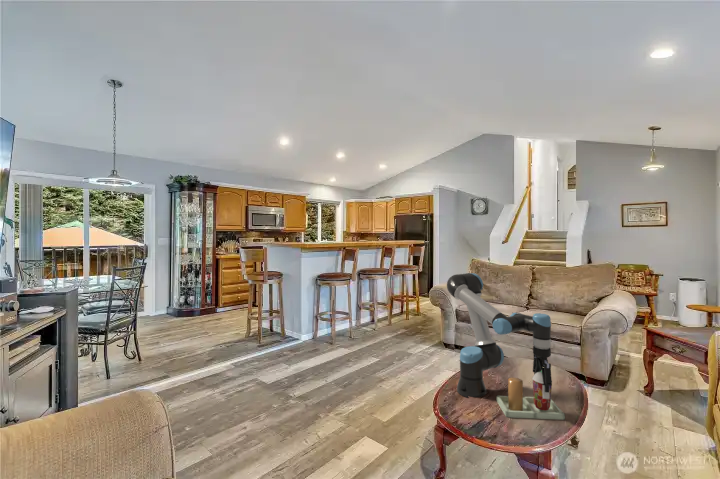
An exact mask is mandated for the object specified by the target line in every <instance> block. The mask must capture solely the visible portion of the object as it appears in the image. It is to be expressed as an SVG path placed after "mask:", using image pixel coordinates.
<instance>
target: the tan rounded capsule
mask: <svg viewBox="0 0 720 479" xmlns="http://www.w3.org/2000/svg"><path fill="white" fill-rule="evenodd" d="M523 381H524V380H522V379H521V378H518V377H513V376H511V377H509V378H507V382H508V383H507V385H508V386H507V396H508V408H509V410H511V411H523V397H524V396H523V395H524V394H523V392H524V390H523V389H524V388H523V387H524V382H523Z"/></svg>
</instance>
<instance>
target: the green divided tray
mask: <svg viewBox="0 0 720 479" xmlns="http://www.w3.org/2000/svg"><path fill="white" fill-rule="evenodd" d="M496 403H497V404H498V405H499V407H500V409H501V411H502V412H503V415H505V417H506V418H519V419H539V420H541V419H542V420H560V421H561V420H562V421H564V420H565V421H566V414H565V413H564V411H563V410H562V409H561V408H560V407H559V406H558V405H557V404H556V403H555V402H554V400H552V399H551V402H550V408H549V410H546V411H544V410H540V409H538V408H536V406H535V404H534V396H523V411H511V410H509V408H508V395H496Z"/></svg>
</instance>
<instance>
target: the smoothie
mask: <svg viewBox="0 0 720 479" xmlns="http://www.w3.org/2000/svg"><path fill="white" fill-rule="evenodd" d="M542 368H544V367H542ZM531 379H532V390H533V391H532V392H533V397H534V404H535V406H536V408H538V409H540V410H544V411H546V410H549V408H550V402H551V400H552V386H553V385H552V386H549V399H543V385H542V384H544V383H543V377H542V371H540V372H537V373H535V374H534V373H533V376H532V377H531Z"/></svg>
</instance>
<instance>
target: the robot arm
mask: <svg viewBox="0 0 720 479" xmlns="http://www.w3.org/2000/svg"><path fill="white" fill-rule="evenodd" d="M446 282H447V283H446V288H447V291H448V293H449V294H450V295H451V296H452V297H453V298H455V299H456V300H459V301H461V302H462V303H463V304H465V305H466V308H467V311H468V312H467V313H468V315H469V319H470V323H471V327H472V330H473V334H474V337H475V344H474V345H472V346H470V345H469V346H465V347H463V348H461V350H460V352H459V369H460V371H459V373H460V374H459V379H458V381H457V385H456V392H457V393H458V394H459V395H461V397H465V398H467V399H469V398H470V397H471V398H481V397H484V396H485V395H487V388H486V384H485V382H484V377H483V376H484V374H483V372H484V371H487V370H490V369H495V368H498V367H500V366H502V364H503V362H504V359H505V355H504V350H503V349H502V348H501V347H500V345H498V344H497V342H496V340H494V339H493V337H492V334H491V331H490V327H489V325H488V322H489V323H490V324H491V325H492V328H493V330H494V332H495V333H496V334H497V335H501V336H502V335H508V334H511V333H516V332H519V331H527V332H530V333H532V345H533V346H532V354H533V361H532V373H533V375H534V374H535V373H537V372H540V371H542V377H543V383H544V384H542V385H543V399H549V386H553V380H552V369H551V368H552V364H551V363H549V360H548V358H550V357H551V355H552V349H551V347H552V346H551V345H552V343H551V342H552V339H551V338H552V336H551V335H552V334H551V333H552V331H551V330H552V328H551V327H552V322H551V320H552V319H551V316H550V315H548V314H546V313H541V312H540V313H538V312H537V313H534V314H533V315H532V316H531V315H528V314H523V313H520V312H512V313H511V314H509V316H507V315H505V314H503V313H502V312H501V311H500V310H499V309H497V308H496V307H494V306H492V305H491V304H490V303H489V302H487V301H486V300H485V299H484V298H482V297H481V296H482V290H483V288H484V281H483V279H482V278H481V276H480V275H479V274H477V273H472V272H471V273H470V272H468V273H458V274H453V275H451V276H450V277H449V278H448V280H447V281H446ZM542 367H543V368H542Z"/></svg>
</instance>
